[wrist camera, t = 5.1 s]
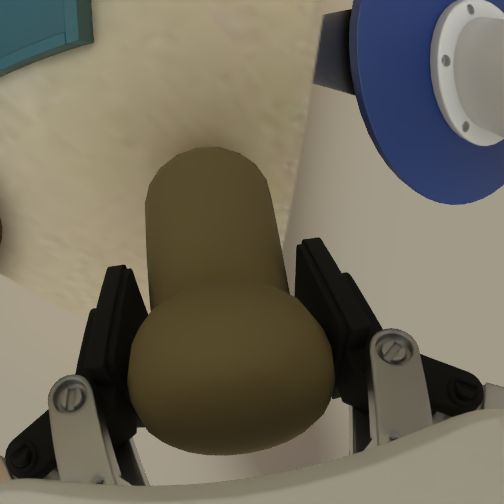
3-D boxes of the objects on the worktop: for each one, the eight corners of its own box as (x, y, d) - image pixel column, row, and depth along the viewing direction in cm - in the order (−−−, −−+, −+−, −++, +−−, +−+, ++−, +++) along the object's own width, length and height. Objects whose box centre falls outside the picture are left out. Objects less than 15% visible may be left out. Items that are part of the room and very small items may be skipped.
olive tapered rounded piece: (284, 156, 14) (420, 350, 5) (257, 263, 18) (316, 463, 9) (149, 140, 13) (74, 354, 4) (143, 255, 16) (123, 472, 7)
